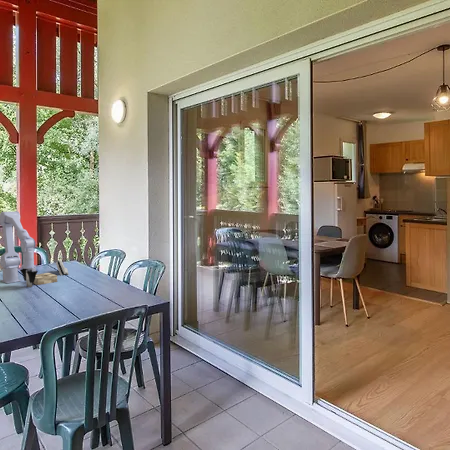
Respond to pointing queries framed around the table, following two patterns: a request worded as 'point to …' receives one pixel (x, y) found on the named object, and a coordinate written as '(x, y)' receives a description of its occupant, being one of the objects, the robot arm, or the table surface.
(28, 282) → the peg
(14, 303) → the table surface
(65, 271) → the grey stapler
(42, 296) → the table surface
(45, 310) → the table surface
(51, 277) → the knuckle block
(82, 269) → the table surface
